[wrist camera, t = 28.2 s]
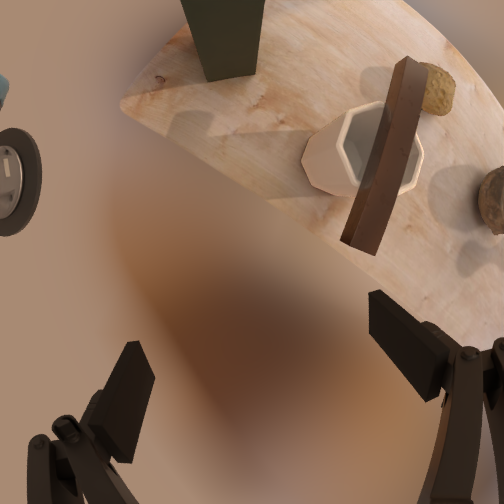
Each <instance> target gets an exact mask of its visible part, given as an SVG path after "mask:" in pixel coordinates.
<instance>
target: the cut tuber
mask: <svg viewBox="0 0 504 504" xmlns="http://www.w3.org/2000/svg"><path fill="white" fill-rule="evenodd" d="M420 64H421V65H423V66H424V67H426V68H427V69H428V70H429V72H428V77H427V83H426V88H425V93H424V98H423V103H422V108H421V109H423V110H424V111H426V112H428V113H429V114H434V115H438V116H444V115H446V114H448V113H449V112H450V111H451V108H452V102H453V97H454V92H455V87H456V84H455V81H454V80H453V79H452V76H451V75H450V74H449V72H446V71H445V70H443V69H442V68H440V67H438V66H435V65H433V64H430V63H423V62H420Z"/></svg>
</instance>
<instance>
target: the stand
mask: <svg viewBox="0 0 504 504" xmlns="http://www.w3.org/2000/svg"><path fill="white" fill-rule="evenodd" d="M181 4H182V7H183V10H184V12H185V16H186V19H187V22H188V24H189V27H190V31H191V34H192V37H193V40H194V43H195V46H196V49H197V52H198V55H199V58H200V61H201V64H202V67H203V70H204V73H205V76H206V79H207V82H212V81H217V80H222V79H228V78H234V77H240V76H247V75H254V74H255V72H256V64H257V56H258V49H259V41H260V33H261V26H262V18H263V11H264V4H265V0H181Z"/></svg>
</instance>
